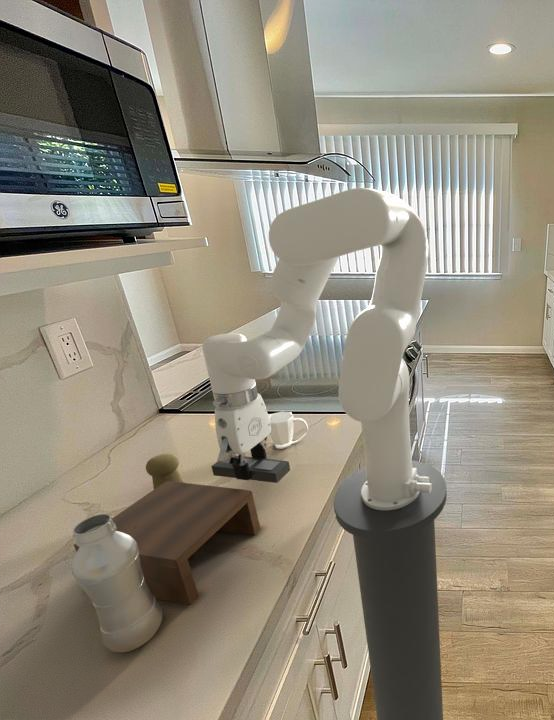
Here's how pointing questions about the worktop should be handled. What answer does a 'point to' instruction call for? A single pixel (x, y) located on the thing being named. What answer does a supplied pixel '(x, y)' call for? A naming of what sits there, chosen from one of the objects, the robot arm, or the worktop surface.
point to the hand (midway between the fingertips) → (252, 470)
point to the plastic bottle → (115, 584)
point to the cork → (163, 469)
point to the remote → (256, 469)
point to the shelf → (182, 531)
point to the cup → (283, 429)
